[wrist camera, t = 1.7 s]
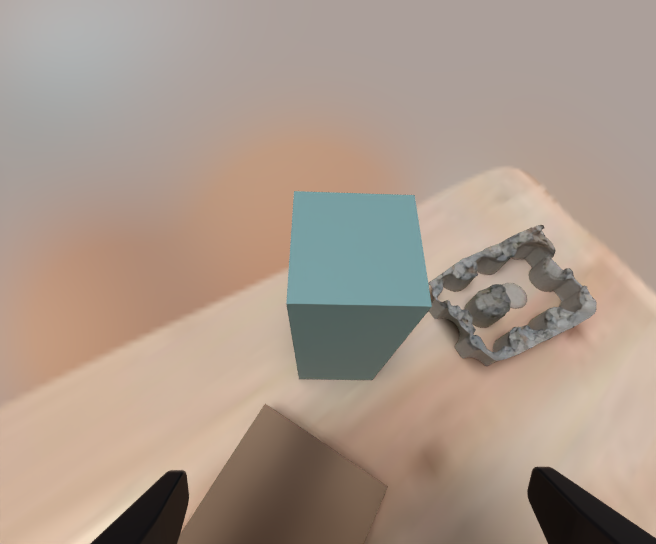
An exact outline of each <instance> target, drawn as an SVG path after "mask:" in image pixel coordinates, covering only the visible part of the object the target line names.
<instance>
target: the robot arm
mask: <svg viewBox="0 0 656 544" xmlns="http://www.w3.org/2000/svg"><path fill="white" fill-rule="evenodd" d="M527 492H528V499H529V502H530V504H531V507H532V509H533V511H534V513H535V515H536V518H537V520H538V522H539V524H540V527H541V529H542V531H543V533H544V535H545V538H546V540H547V542H548V544H656V538H655V537H653V536H652V535H650V534H649V533H647V532H646V531H644V530H643V529H641V528H640V527H638V526H637V525H635V524H634V523H633V522H631V521H630V520H628V519H627V518H625V517H624V516H622V515H621V514H619V513H618V512H616V511H615V510H613V509H612V508H610V507H609V506H608V505H606V504H605V503H603V502H602V501H600V500H599V499H597V498H596V497H594V496H593V495H591V494H590V493H588V492H587V491H585V490H584V489H583V488H581V487H580V486H578V485H577V484H575V483H574V482H572V481H571V480H569V479H568V478H566V477H565V476H563V475H562V474H560V473H559V472H557V471H556V470H555V469H553V468H551V467H535V468H534V469H533V470H532V473H531V478H530V482H529V486H528V491H527ZM188 501H189V492H188V483H187V475H186V472H185V471H183V470H171V471H168V472H166V473H165V474H164V475H163V476H162V477H161V478H160V479H159V480H158V481H157V482H156V483H155V484H154V485H152V486H151V487H150V488H149V489H148V490H147V491H146V492H145V493H144V494H143V495H142V496H141V497H140V498H139V499H138V500H136V501H135V502H134V503H133V504H132V505H131V506H130V507H129V508H128V509H127V510H126V511H125V512H124V513H123V514H122V515H120V516H119V517H118V518H117V519H116V520H115V521H114V522H113V523H112V524H111V525H110V526H109V527H108V528H107V529H106V530H104V531H103V532H102V533H101V534H100V535H99V536H98V537H97V538H96V539H95V540H94V541H93V542H92V543H91V544H177V543H178V539H179V536H180V532H181V529H182V525H183V521H184V518H185V514H186V510H187V507H188Z"/></svg>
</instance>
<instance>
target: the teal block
mask: <svg viewBox="0 0 656 544" xmlns="http://www.w3.org/2000/svg"><path fill="white" fill-rule="evenodd" d="M431 307H432V305H431V298H430V292H429V285H428V279H427V272H426V266H425V260H424V253H423V247H422V240H421V234H420V227H419V221H418V215H417V208H416V202H415V196H414V195H391V194H360V193H359V194H357V193H329V192H328V193H327V192H297V191H295V192H294V201H293V216H292V231H291V245H290V261H289V274H288V289H287V310H288V316H289V322H290V328H291V334H292V340H293V346H294V352H295V358H296V364H297V370H298V376H299V379H327V380H373V378H374V377H375V376H376V375H377V373H378V372H379V371H380V370H381V369H382V367H383V366H384V365H385V364H386V362H387V361H388V360H389V359H390V357H391V356H392V355H393V354H394V353H395V351H396V350H397V349H398V348H399V346H400V345H401V344H402V343H403V341H404V340H405V339H406V338H407V337H408V335H409V334H410V333H411V332H412V330H413V329H414V328H415V327H416V325H417V324H418V323H419V322H420V320H421V319H422V318H423V317H424V316H425V314H426V313H427V312H428V311H429V309H430V308H431Z"/></svg>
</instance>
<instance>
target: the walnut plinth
mask: <svg viewBox="0 0 656 544" xmlns="http://www.w3.org/2000/svg"><path fill="white" fill-rule="evenodd" d="M387 488H388V486H387V485H385V484H384V483H382V482H381V481H379V480H378V479H376V478H375V477H373V476H372V475H370V474H369V473H367V472H366V471H364V470H363V469H361V468H360V467H358V466H357V465H355V464H354V463H352V462H351V461H349V460H348V459H346V458H345V457H343V456H342V455H341V454H339V453H338V452H336V451H335V450H333V449H332V448H330V447H329V446H327V445H326V444H324V443H323V442H321V441H320V440H318V439H317V438H315V437H314V436H312V435H311V434H309V433H308V432H306V431H305V430H303V429H302V428H300V427H299V426H297V425H296V424H294V423H293V422H292V421H290V420H289V419H287V418H286V417H284V416H283V415H281V414H280V413H278V412H277V411H275V410H274V409H272V408H271V407H269V406H268V405H266V404H265V405H264V406H263V408H262V409H261V411H260V412H259V414H258V415H257V417H256V419H255V420H254V422H253V423H252V425H251V426H250V428H249V429H248V431H247V432H246V434H245V435H244V437H243V439H242V440H241V442H240V443H239V445H238V446H237V448H236V449H235V451H234V452H233V454H232V456H231V457H230V459H229V460H228V462H227V463H226V465H225V466H224V468H223V469H222V471H221V472H220V474H219V476H218V477H217V479H216V480H215V482H214V483H213V485H212V486H211V488H210V489H209V491H208V492H207V494H206V496H205V497H204V499H203V500H202V502H201V503H200V505H199V506H198V508H197V509H196V511H195V512H194V514H193V516H192V517H191V519H190V520H189V522H188V523H187V525H186V526H185V528H184V529H183V531H182V533H181V534H180V536H179V539H178V543H177V544H364V542H365V539H366V537H367V535H368V532H369V530H370V528H371V525H372V523H373V521H374V518H375V516H376V514H377V511H378V509H379V506H380V504H381V502H382V499H383V497H384V495H385V492H386V490H387Z"/></svg>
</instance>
